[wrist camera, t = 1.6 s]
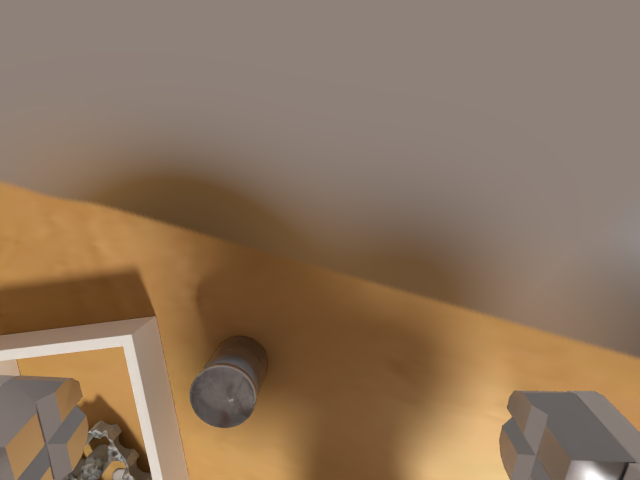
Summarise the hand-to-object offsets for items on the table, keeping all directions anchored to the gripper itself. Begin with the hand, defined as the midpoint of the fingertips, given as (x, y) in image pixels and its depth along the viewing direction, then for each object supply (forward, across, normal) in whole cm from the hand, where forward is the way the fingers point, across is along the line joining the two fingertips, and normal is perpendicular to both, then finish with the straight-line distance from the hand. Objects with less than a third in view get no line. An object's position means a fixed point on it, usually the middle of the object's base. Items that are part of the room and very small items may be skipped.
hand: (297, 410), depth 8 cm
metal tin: (+29, -7, -20) cm, 36 cm away
